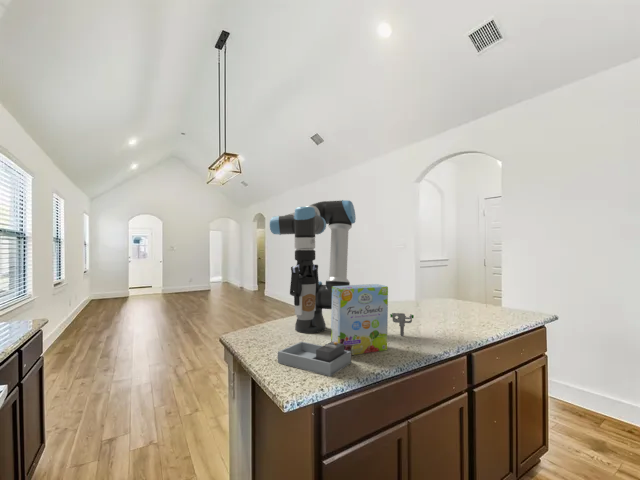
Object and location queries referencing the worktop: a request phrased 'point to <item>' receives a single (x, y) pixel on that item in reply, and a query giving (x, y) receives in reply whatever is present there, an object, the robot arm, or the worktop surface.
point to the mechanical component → (401, 320)
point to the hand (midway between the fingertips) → (305, 312)
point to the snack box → (360, 317)
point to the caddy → (311, 359)
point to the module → (330, 352)
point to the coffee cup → (308, 298)
